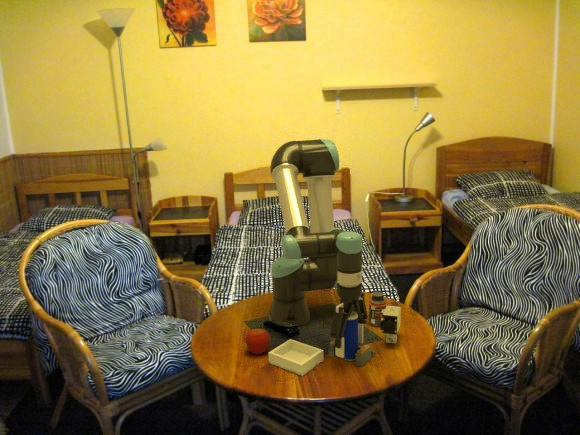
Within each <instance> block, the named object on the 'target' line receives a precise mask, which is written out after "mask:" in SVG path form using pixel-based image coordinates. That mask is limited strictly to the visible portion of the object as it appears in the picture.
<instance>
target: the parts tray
mask: <svg viewBox="0 0 580 435" xmlns="http://www.w3.org/2000/svg"><path fill="white" fill-rule="evenodd" d="M267 354H268V363H269V365H273V366H275V367H278V368H279V369H282V370H285V371H288V372H291V373H293V374H296V375H298V376H301V377H303V376H304V375H306V374H307V373H308V372H310V371H311V370H313V369H314V368H316V367H317V366H318V365H320V364H321V363H323V362H324V350H323V349H321V348H319V347H315V346H313V345H309V344H306V343H303V342H300V341H297V340H294V339H291V338H289V339H288V340H286V341H285V342H283V343H282V344H280V345H279V346H277V347H275V348H273V349H272V350H270V351H269V352H268V353H267ZM320 362H321V363H320ZM319 363H320V364H319ZM316 365H317V366H316Z"/></svg>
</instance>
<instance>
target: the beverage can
mask: <svg viewBox="0 0 580 435" xmlns="http://www.w3.org/2000/svg"><path fill="white" fill-rule="evenodd" d="M343 313H345V312H343ZM345 314H347V313H345ZM343 337H344V358H342V359H343V360H345V361H347V360H348V361H349V362H353V361H356V353H357V351H358V345H359V343H358V315H357V312H355V311H352V312H351V314H350V317H348V319H347V323H346V326H345V330H344V333H343Z"/></svg>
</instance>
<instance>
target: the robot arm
mask: <svg viewBox="0 0 580 435" xmlns="http://www.w3.org/2000/svg"><path fill="white" fill-rule="evenodd" d="M269 166H270V169H269V170H270V177H271V179H272V181H274V182H275V186H276V190H277V195H278V201H279V206H280V209H281V214H282V219H283V225H284V228H285V229H284V230H285V234H286V235H283V236H282V237H281V250H282V256H279V257H278V258H276V259H274V261H273V262H272V264H271V283H272V284H271V285H272V287H271V288H272V301H271V304H270V308H269V311H268V321H269V320H276V321H282V322H286V323H289V324H292V325H295V326H298V327H301V325H302V326H304V325H306V324H308V323H309V322H310V320H311V312H310V309H309V308H308V304H307V301H306V297H305V295H306V294H305V293H306V292H312V291H314V292H315V291H321V290H324V291H325V290H333V289H336V294H337V296H338V297H339V299H340V300H339V304H338V305H337V304H335V305H334V306H333V317H332V321H331V322H332V324H331V329H330V334H329V337H330V338H332V339H335V354H336V356H335V357H339V358H341V359H343V358H344V337H343V333H344V330H345V326H346V323H347V319H348V317H350V314H351V312H352V311H355V312H357V315H358V344H364V324H365V325H366V324H367V322H368V319H369V315H368V311H367V305H366V302H365V293H364V292H363V283H362V281H363V274H362V273H363V272H362V271H363V246H364V245H363V238H362V235H361V234H360V233H359V232H356V231H345V230H344V229H343V228H340V227H335V221H334V220H335V219H334V204H333V203H334V202H333V192H332V191H333V190H332V189H333V188H332V180H333V178H335V177H336V173H335V172H338V170H340V156H339V152H338V149H337V146H336V144H335V142H334V141H332V140H331V139H326V138H325V139H322V138H319V139H306V140H305V139H304V140H291V141H287V142H284V144H282V145H281V146H279V147H278V148H277V150H276V151H275V153H274V154H273V156H272V158H271V161H270V165H269ZM299 174H302V179H303V180H304V181H305V182H306V183H307V195H308V196H307V197H308V209H309V223H308V218H307V214H306V210H305V206H304V201H303V197H302V193H301V188H300V184H299V180H298V176H299ZM309 224H310V225H309ZM343 312H345V313H347V314H345V313H343ZM307 322H308V323H307Z"/></svg>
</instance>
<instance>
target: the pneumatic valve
mask: <svg viewBox="0 0 580 435" xmlns="http://www.w3.org/2000/svg"><path fill="white" fill-rule="evenodd" d="M382 313H383V316H382V319H381V324H380V326H379V327H380V331H381V332H382V334H385V343H387V344H388V343H389V344H397V340H398V333H399V328H400V326H401V321H402V306H401V305H395V304H394V305H393V304H392V305H391V304H386V309H383V310H382Z"/></svg>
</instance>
